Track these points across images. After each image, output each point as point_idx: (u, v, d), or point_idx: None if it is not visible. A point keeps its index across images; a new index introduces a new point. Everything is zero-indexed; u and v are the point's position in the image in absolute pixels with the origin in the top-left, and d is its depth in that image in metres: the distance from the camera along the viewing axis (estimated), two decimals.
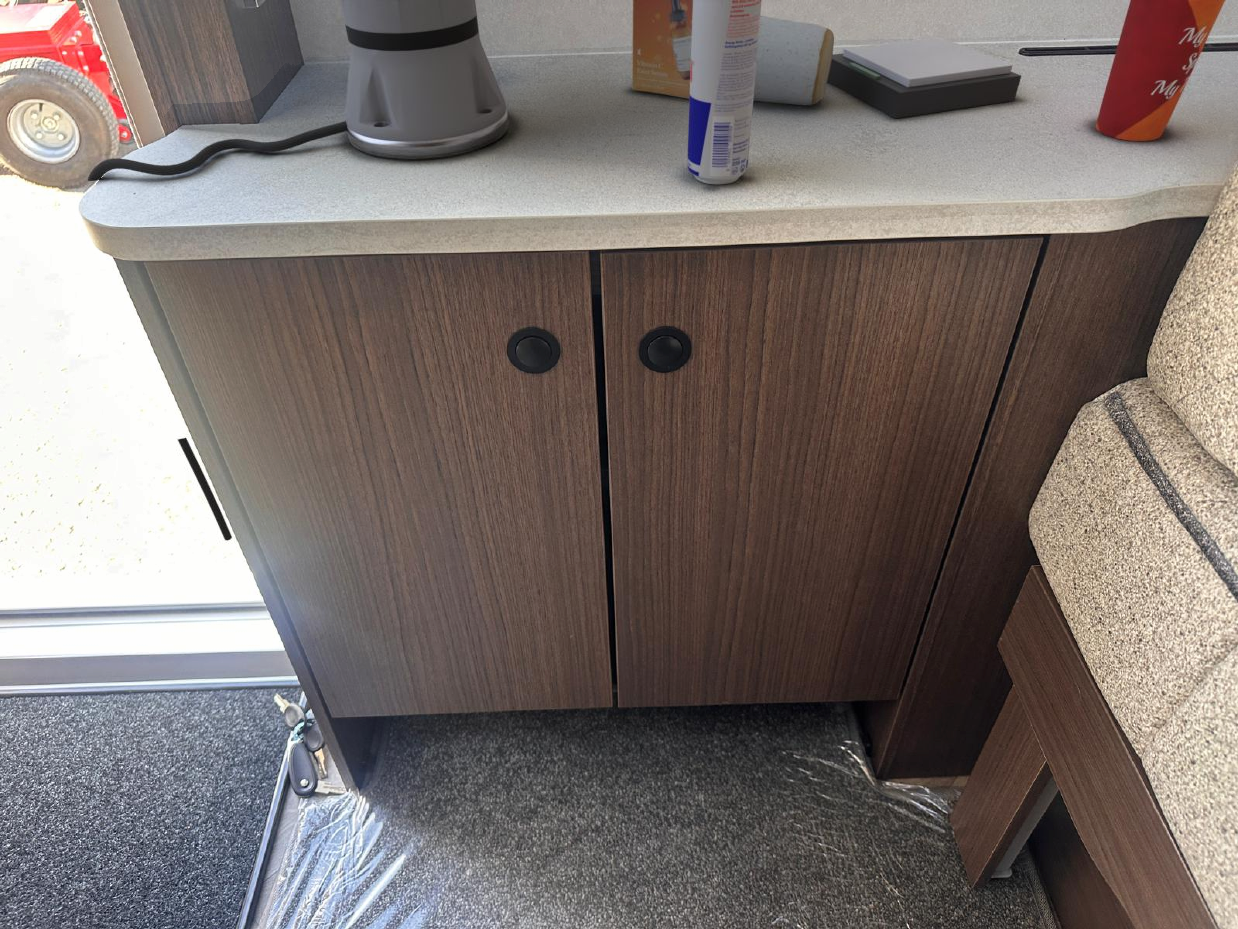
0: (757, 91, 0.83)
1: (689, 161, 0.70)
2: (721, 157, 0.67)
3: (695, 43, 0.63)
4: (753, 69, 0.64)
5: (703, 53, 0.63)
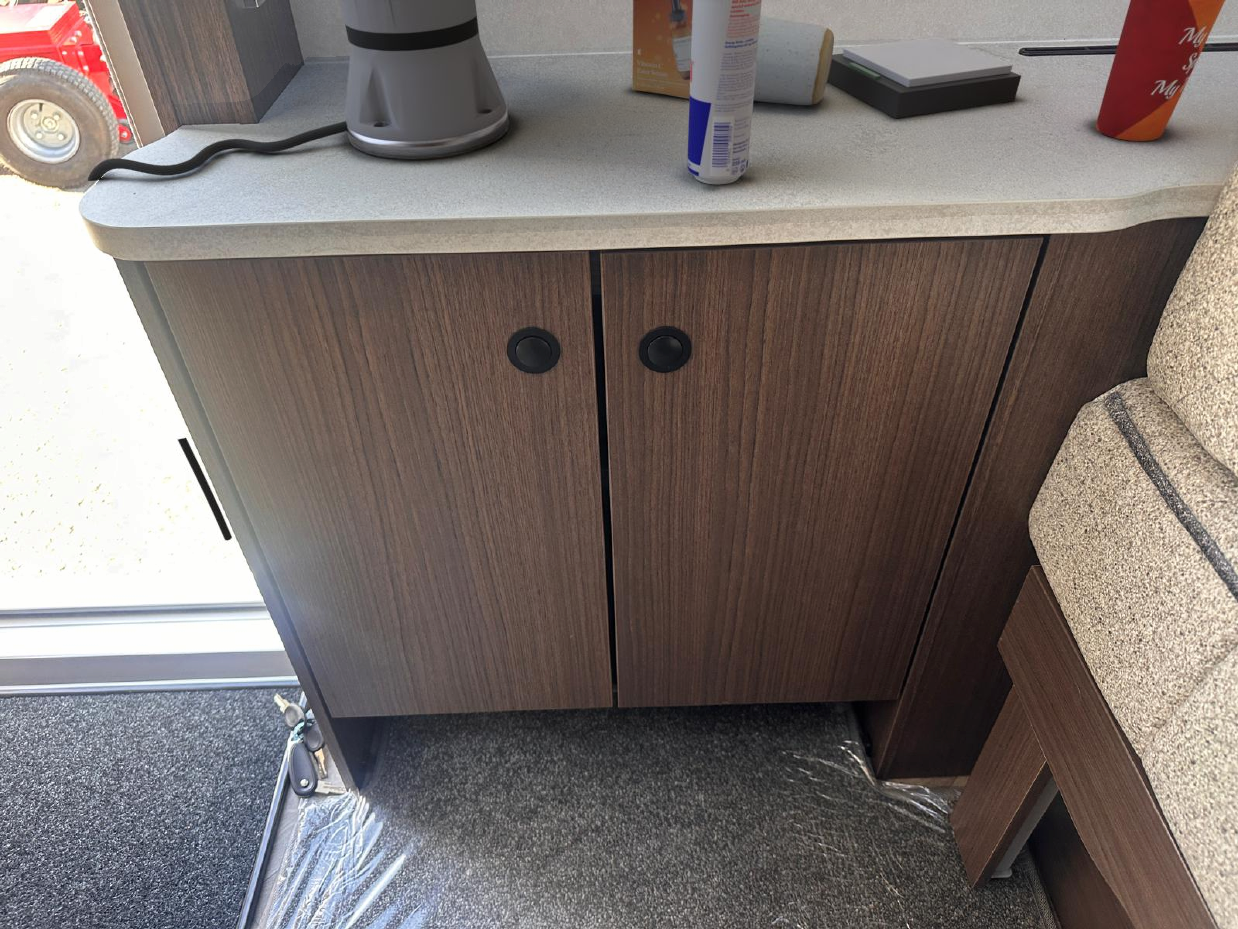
0: (757, 91, 0.83)
1: (689, 161, 0.70)
2: (721, 157, 0.67)
3: (695, 43, 0.63)
4: (753, 69, 0.64)
5: (703, 53, 0.63)
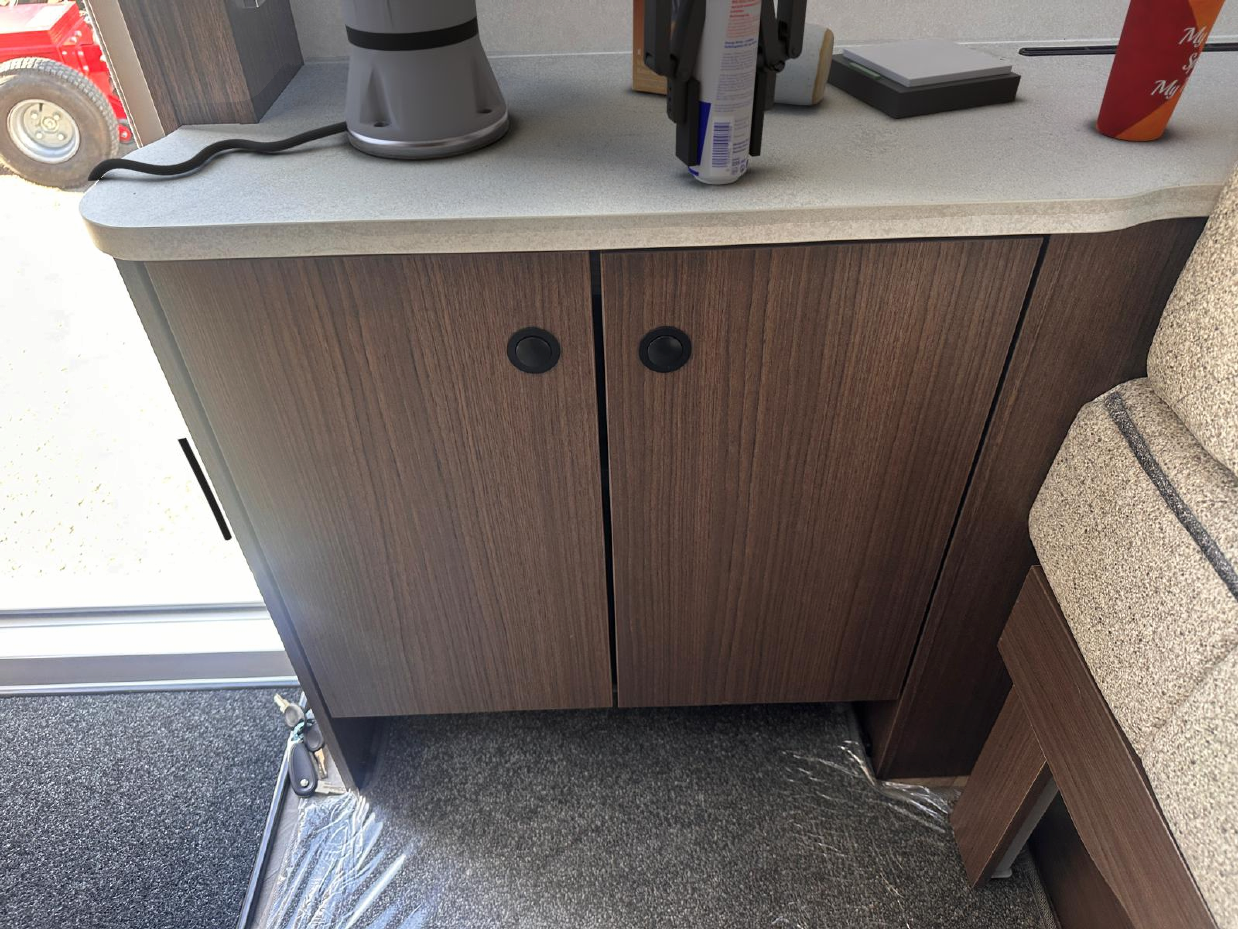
0: None
1: None
2: (721, 157, 0.67)
3: None
4: (753, 69, 0.64)
5: (703, 53, 0.63)
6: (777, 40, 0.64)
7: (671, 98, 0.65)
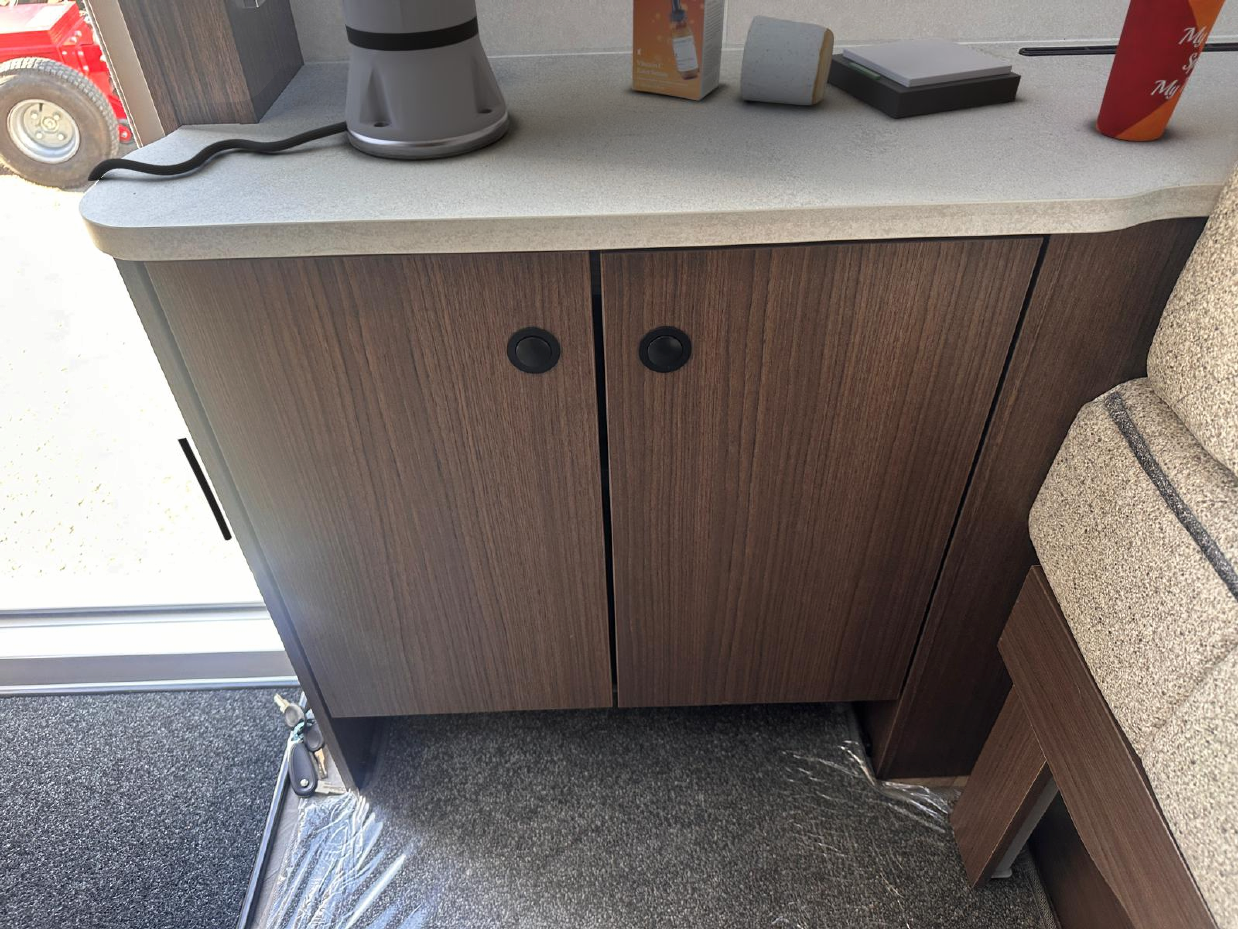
0: (757, 91, 0.83)
1: None
2: None
3: None
4: None
5: None
6: None
7: None
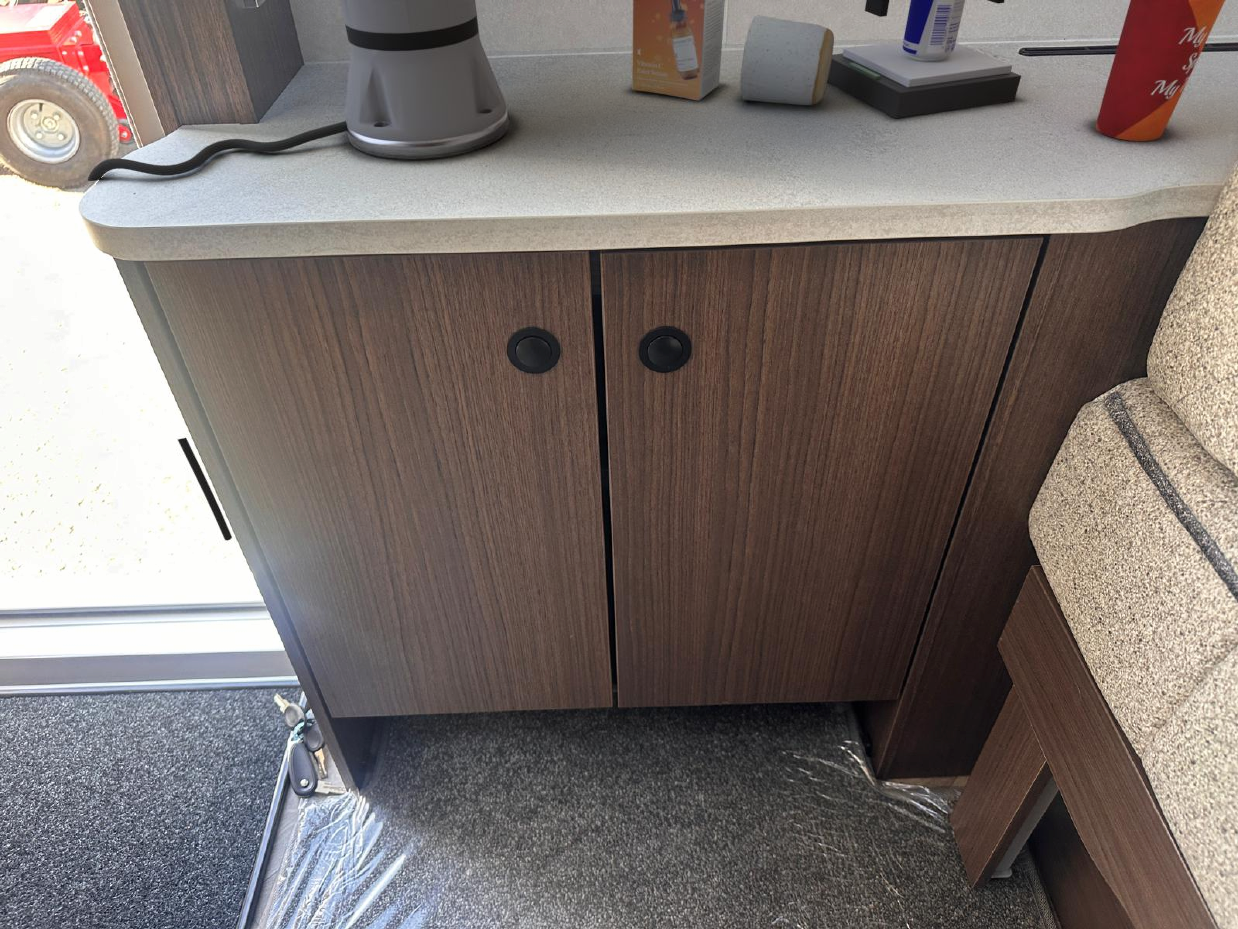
0: (757, 91, 0.83)
1: (907, 42, 0.84)
2: (939, 35, 0.82)
3: None
4: None
5: None
6: None
7: None
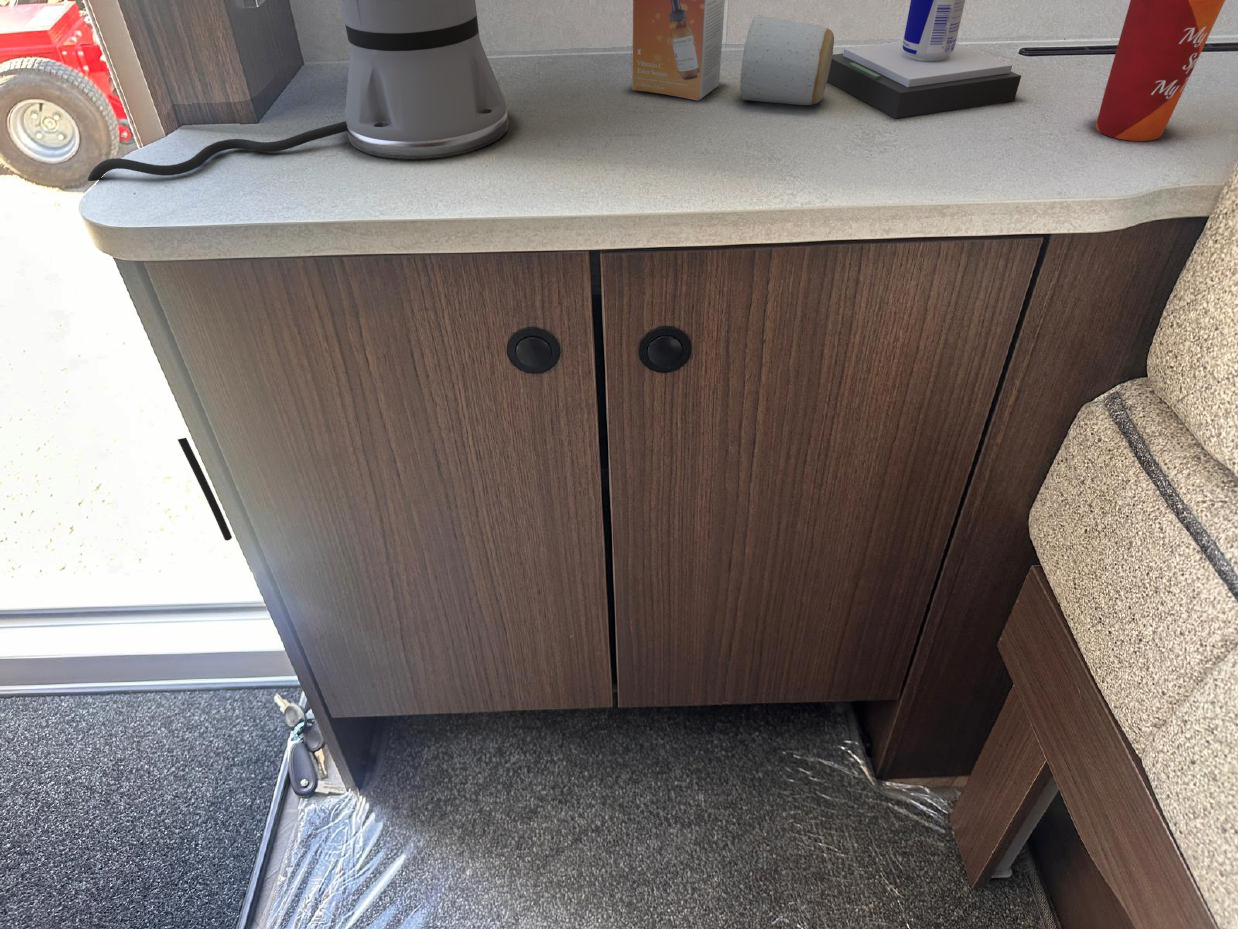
0: (757, 91, 0.83)
1: (907, 42, 0.84)
2: (939, 35, 0.82)
3: None
4: None
5: None
6: None
7: None
